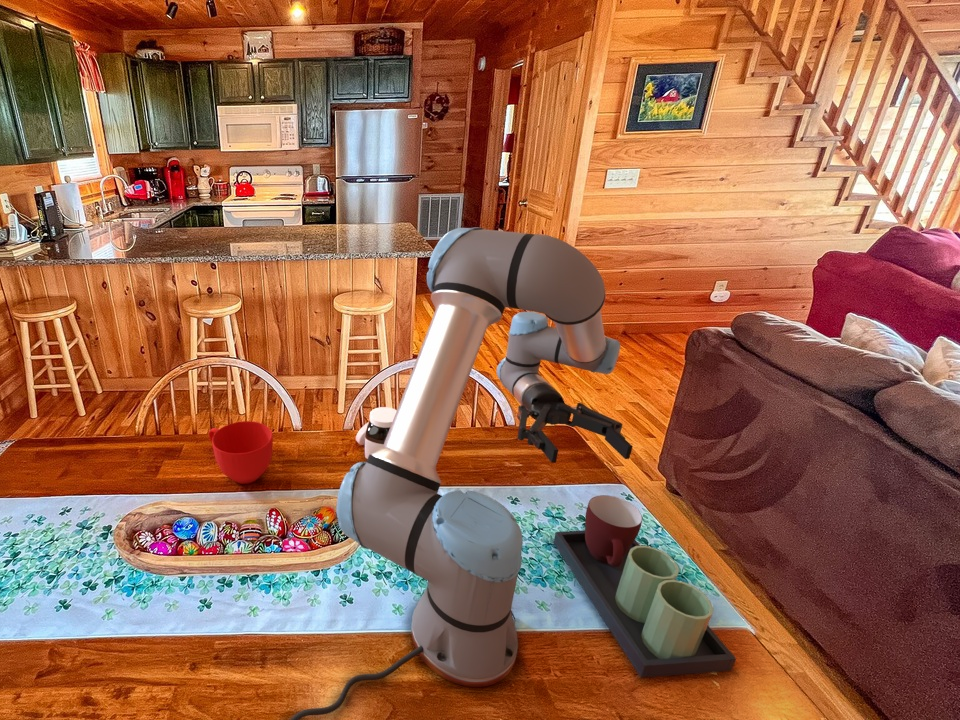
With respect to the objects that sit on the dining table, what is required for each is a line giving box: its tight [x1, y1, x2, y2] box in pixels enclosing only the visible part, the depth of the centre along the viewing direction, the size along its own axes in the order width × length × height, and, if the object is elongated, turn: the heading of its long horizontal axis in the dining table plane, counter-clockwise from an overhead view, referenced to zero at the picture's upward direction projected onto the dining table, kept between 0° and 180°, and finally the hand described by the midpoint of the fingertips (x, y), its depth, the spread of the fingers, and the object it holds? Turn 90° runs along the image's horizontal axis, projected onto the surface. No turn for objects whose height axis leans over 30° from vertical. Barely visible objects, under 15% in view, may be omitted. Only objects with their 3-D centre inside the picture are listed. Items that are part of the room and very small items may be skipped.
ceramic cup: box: [208, 420, 274, 485], centre depth 112 cm, size 13×17×10 cm
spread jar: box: [355, 406, 397, 460], centre depth 117 cm, size 12×11×12 cm
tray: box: [553, 529, 737, 679], centre depth 81 cm, size 13×25×3 cm, turn 3°
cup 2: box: [641, 579, 714, 659], centre depth 72 cm, size 6×6×10 cm
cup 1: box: [615, 545, 680, 623], centre depth 78 cm, size 6×6×10 cm
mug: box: [584, 494, 643, 567], centre depth 86 cm, size 10×8×10 cm
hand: (592, 454), depth 91 cm, fingers open, 13 cm apart
